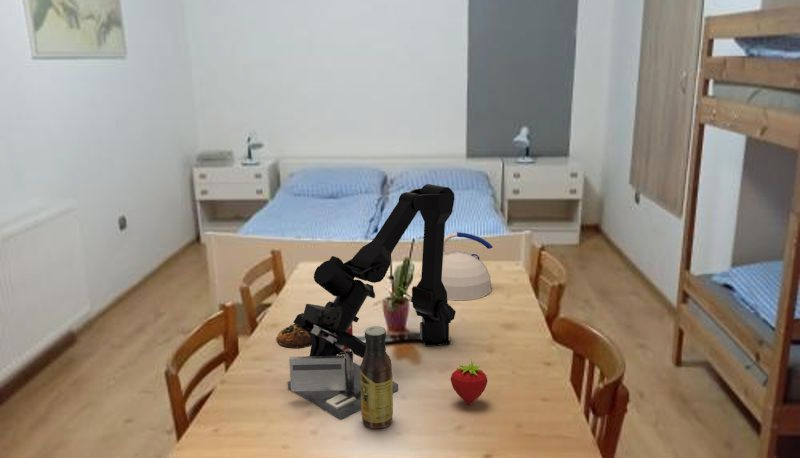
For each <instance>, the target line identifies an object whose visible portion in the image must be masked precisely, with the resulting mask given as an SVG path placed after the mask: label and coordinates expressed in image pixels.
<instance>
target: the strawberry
mask: <svg viewBox="0 0 800 458" xmlns="http://www.w3.org/2000/svg"><path fill="white" fill-rule="evenodd" d="M474 363H475V362H473V360H472V359H470V363H469V364H468V365H458V366H459V367H457V368H456V369H455V370H454V371H453V372H452V373H451V377H450V383H451V386H452V389H453V390H454V391H455V392H456V394H457V396H458V397H460V399H462V400H463V401H464V403H466V405H472V404H473V403H474V402H475V401H476V400H477V399H478V398H479V397H481V395H482V394H483V392H484V391H486V387H487V385H488V378H487V376H488V375H487V374H486V372H484V371H483V369H480V366H478V365H474Z"/></svg>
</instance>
